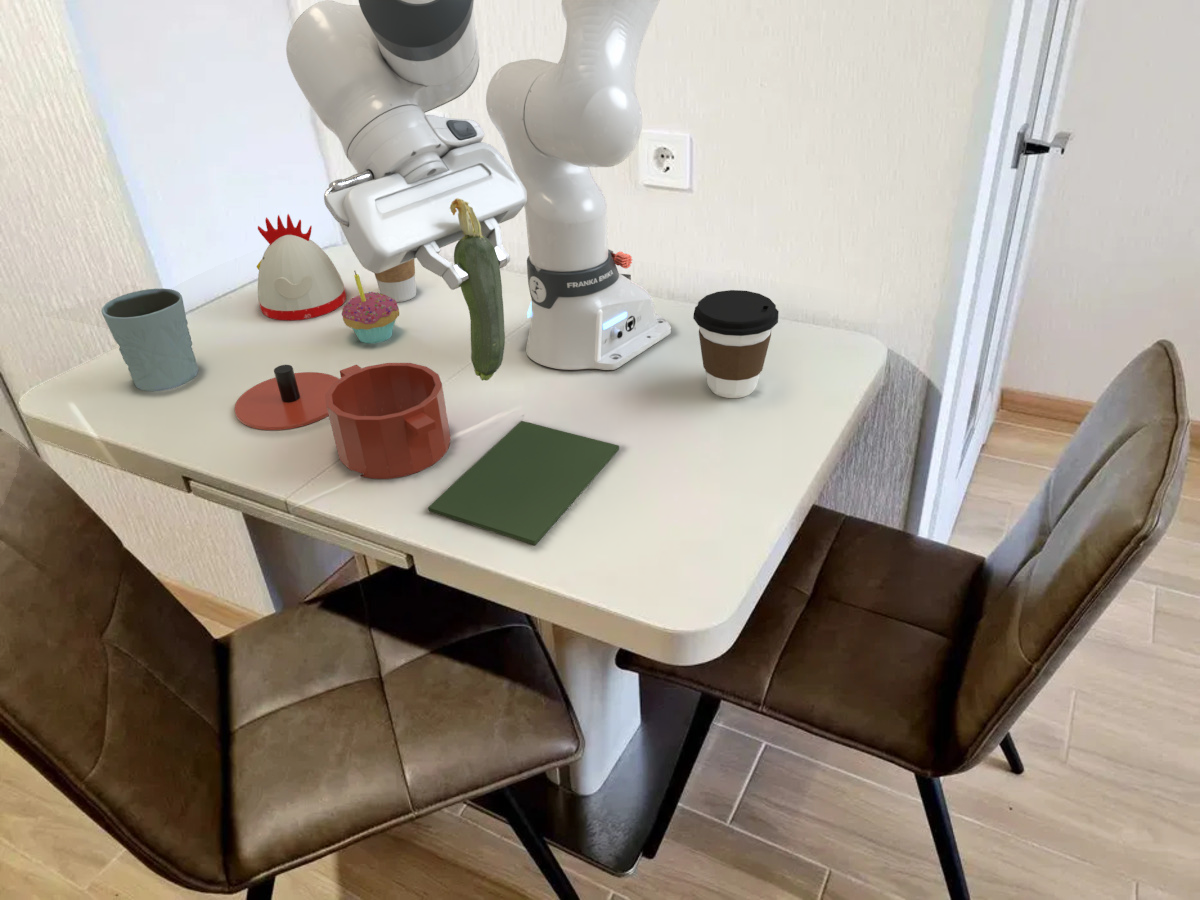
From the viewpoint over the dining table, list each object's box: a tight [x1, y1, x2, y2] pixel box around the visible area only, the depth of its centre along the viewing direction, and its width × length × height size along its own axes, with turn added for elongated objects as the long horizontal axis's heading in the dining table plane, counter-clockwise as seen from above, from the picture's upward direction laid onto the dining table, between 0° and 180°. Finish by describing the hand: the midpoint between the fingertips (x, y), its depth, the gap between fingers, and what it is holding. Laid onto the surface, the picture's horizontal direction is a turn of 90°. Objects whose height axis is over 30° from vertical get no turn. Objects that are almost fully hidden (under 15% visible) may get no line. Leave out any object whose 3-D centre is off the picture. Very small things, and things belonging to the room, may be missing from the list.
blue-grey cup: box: [100, 288, 199, 392], centre depth 123 cm, size 10×10×12 cm
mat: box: [427, 420, 620, 546], centre depth 103 cm, size 20×14×1 cm
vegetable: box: [450, 198, 506, 381], centre depth 88 cm, size 4×4×20 cm
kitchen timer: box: [256, 213, 347, 322], centre depth 143 cm, size 14×14×15 cm
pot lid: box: [234, 364, 340, 431], centre depth 118 cm, size 15×15×6 cm
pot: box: [325, 362, 452, 480], centre depth 107 cm, size 14×19×8 cm
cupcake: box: [341, 270, 400, 345], centre depth 132 cm, size 9×8×12 cm
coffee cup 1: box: [374, 259, 417, 303], centre depth 144 cm, size 8×8×15 cm
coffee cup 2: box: [692, 289, 780, 399], centre depth 115 cm, size 11×11×12 cm
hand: (482, 274), depth 87 cm, fingers closed on vegetable, 4 cm apart
